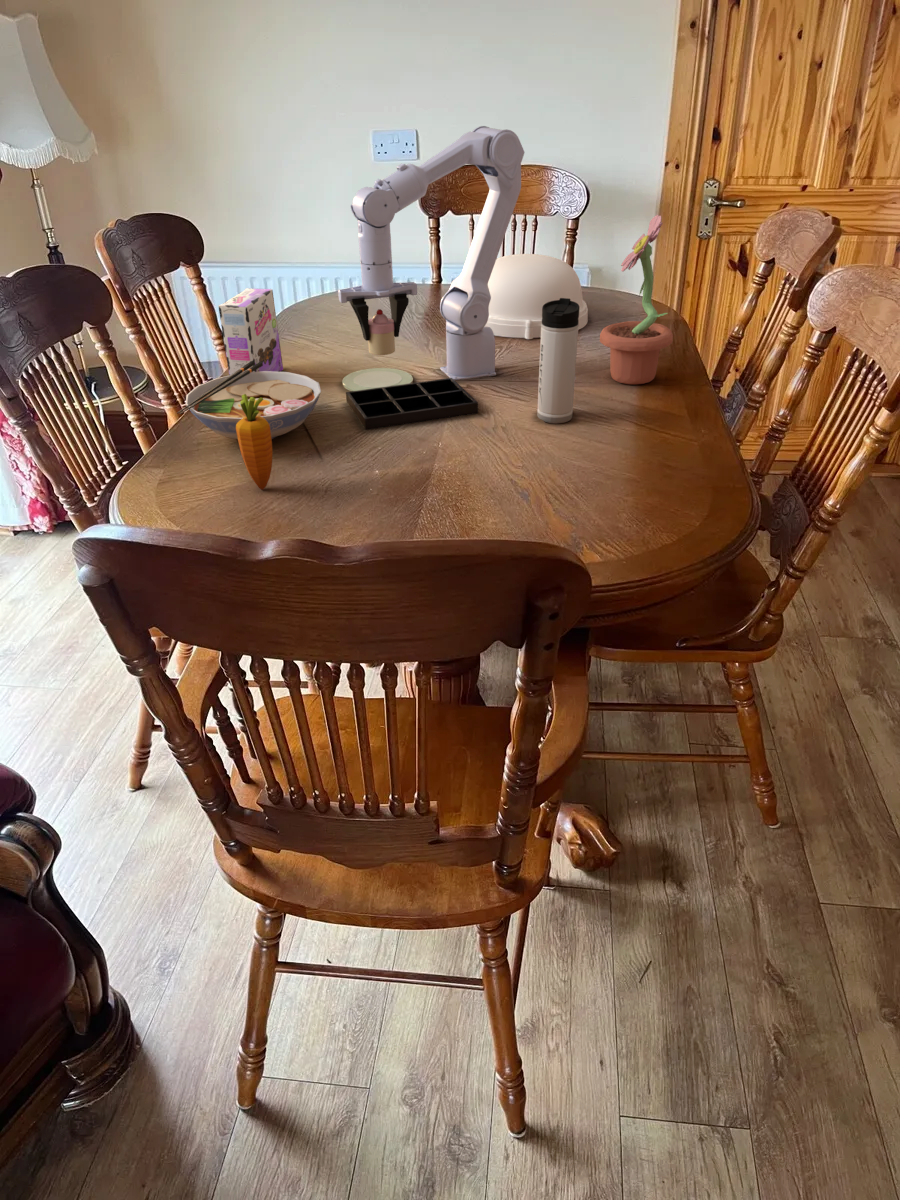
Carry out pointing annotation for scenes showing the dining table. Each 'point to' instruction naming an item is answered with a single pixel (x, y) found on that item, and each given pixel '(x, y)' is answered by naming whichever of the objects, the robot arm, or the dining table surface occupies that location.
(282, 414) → the ramen bowl
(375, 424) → the black compartment tray
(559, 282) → the dome cover
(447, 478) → the dining table surface
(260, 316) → the candy box
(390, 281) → the robot arm
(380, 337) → the cupcake
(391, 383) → the plate
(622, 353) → the decorative flower
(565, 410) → the travel mug
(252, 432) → the carrot
